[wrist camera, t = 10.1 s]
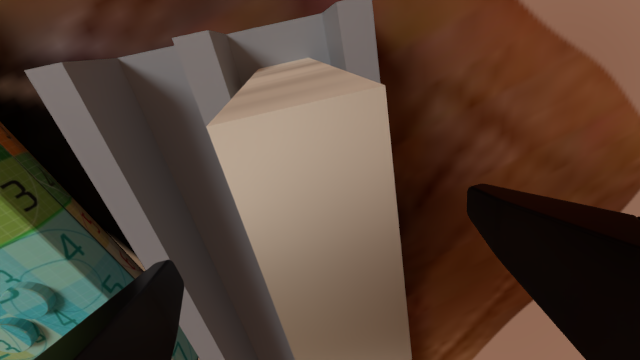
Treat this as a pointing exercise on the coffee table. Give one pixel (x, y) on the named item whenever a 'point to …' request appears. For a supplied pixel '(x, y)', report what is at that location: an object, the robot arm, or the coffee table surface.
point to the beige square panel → (320, 206)
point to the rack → (193, 159)
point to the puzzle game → (52, 259)
